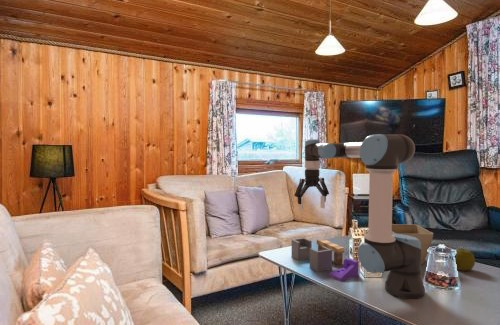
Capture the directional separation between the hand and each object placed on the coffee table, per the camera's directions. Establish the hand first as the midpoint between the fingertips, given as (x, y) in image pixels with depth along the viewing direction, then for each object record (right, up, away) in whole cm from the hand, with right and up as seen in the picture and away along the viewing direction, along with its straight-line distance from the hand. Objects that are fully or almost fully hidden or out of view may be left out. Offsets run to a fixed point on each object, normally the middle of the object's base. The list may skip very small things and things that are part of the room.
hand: (311, 209), depth 180 cm
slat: (+10, -21, +1) cm, 23 cm away
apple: (+70, -28, -15) cm, 77 cm away
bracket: (+11, -29, -21) cm, 37 cm away
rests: (+10, -27, +1) cm, 28 cm away
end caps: (-1, -27, -4) cm, 27 cm away
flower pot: (+49, -27, -1) cm, 56 cm away
